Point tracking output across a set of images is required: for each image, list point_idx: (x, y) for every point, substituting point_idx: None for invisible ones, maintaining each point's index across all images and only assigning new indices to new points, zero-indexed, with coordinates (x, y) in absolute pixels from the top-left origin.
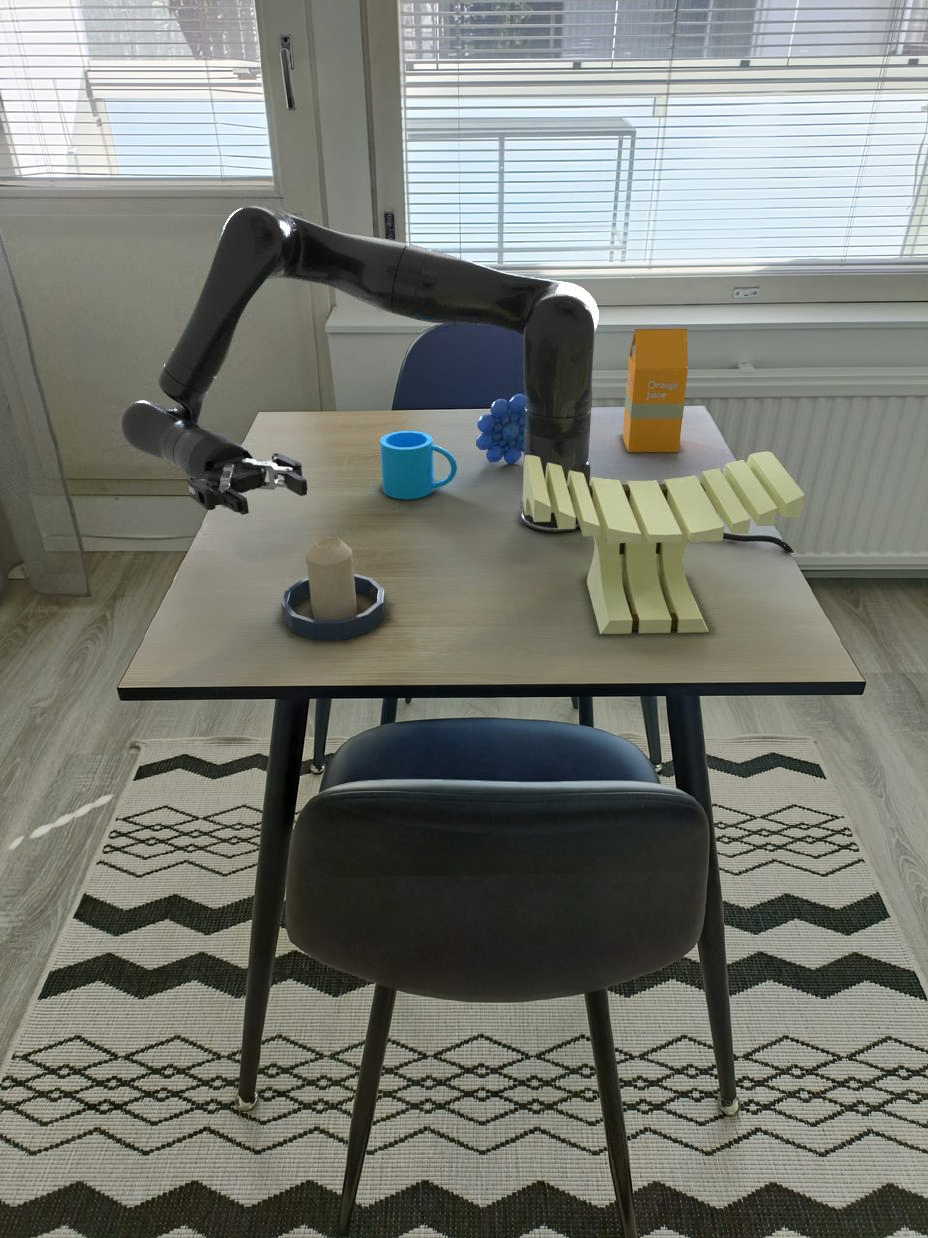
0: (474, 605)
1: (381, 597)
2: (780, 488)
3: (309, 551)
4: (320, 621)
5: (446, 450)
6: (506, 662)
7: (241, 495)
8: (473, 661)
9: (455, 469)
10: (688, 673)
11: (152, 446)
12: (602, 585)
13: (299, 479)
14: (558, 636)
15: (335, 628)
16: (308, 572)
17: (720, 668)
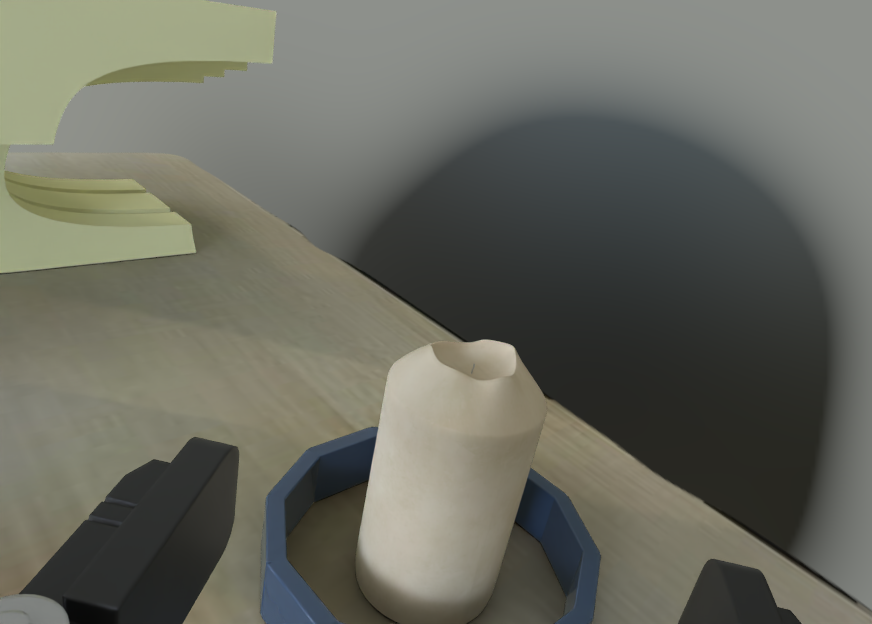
0: (188, 370)
1: (351, 436)
2: None
3: (528, 408)
4: (550, 487)
5: None
6: (349, 307)
7: (738, 604)
8: (379, 332)
9: None
10: (243, 208)
11: None
12: (79, 224)
13: (213, 455)
14: (232, 280)
15: None
16: (528, 470)
17: (214, 195)
